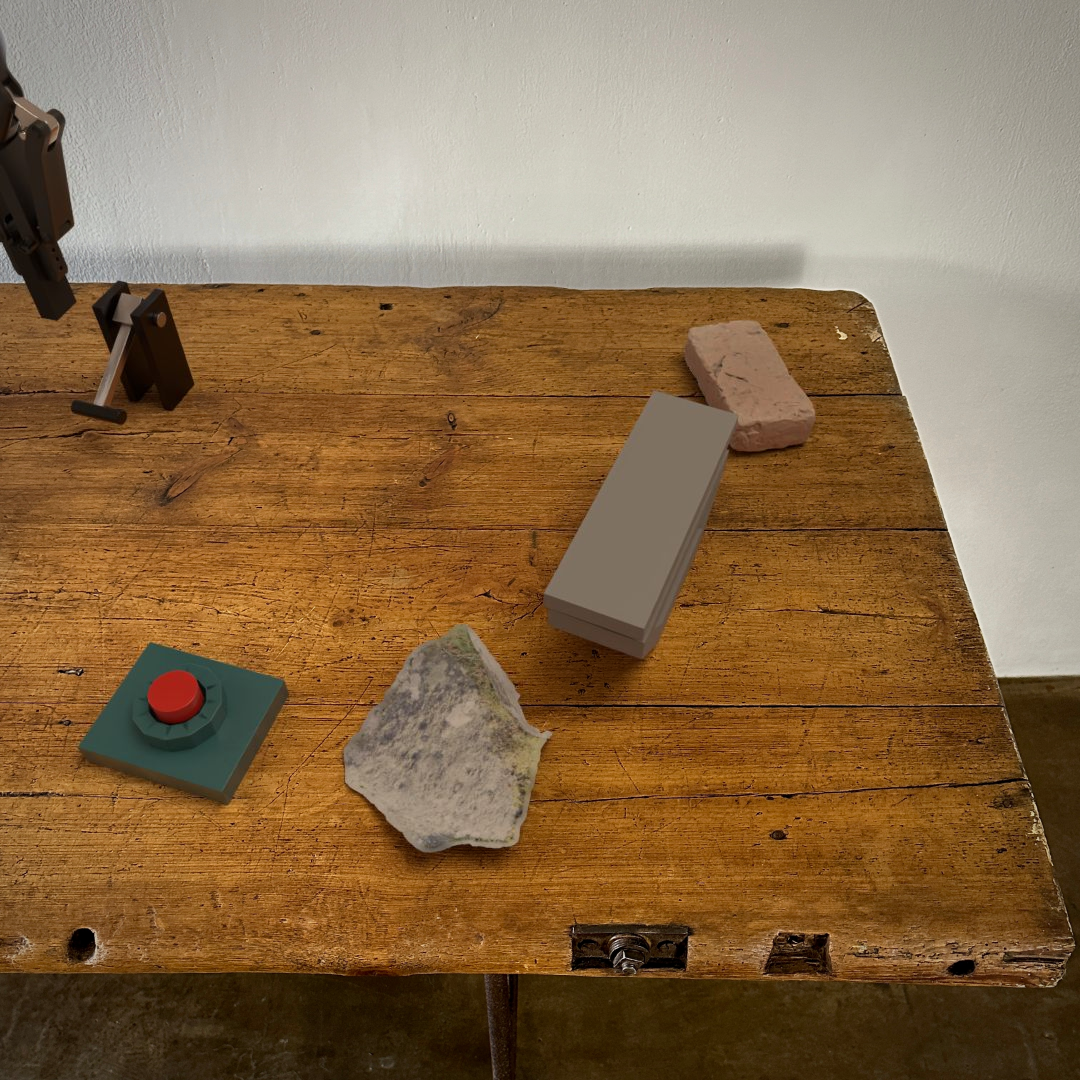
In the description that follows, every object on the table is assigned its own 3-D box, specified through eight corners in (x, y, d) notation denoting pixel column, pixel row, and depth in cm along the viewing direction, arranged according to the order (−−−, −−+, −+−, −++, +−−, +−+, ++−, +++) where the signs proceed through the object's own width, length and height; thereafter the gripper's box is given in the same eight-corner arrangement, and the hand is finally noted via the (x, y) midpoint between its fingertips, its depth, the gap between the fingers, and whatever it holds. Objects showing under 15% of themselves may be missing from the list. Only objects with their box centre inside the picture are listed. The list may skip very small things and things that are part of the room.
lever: (127, 428, 91) (112, 420, 89) (80, 417, 92) (65, 409, 90) (168, 310, 93) (155, 299, 91) (122, 300, 94) (108, 289, 92)
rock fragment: (463, 648, 82) (461, 609, 78) (605, 772, 74) (610, 735, 70) (320, 758, 74) (309, 721, 71) (460, 907, 67) (457, 875, 63)
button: (144, 716, 72) (137, 704, 71) (170, 677, 75) (164, 664, 73) (187, 729, 72) (181, 717, 70) (212, 689, 74) (206, 677, 73)
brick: (679, 356, 107) (684, 321, 103) (750, 346, 108) (758, 311, 105) (732, 461, 97) (740, 426, 93) (810, 448, 98) (821, 413, 94)
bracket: (173, 449, 96) (135, 345, 86) (93, 430, 98) (47, 326, 88) (232, 374, 104) (203, 271, 94) (158, 357, 105) (121, 254, 95)
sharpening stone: (641, 475, 95) (653, 390, 87) (718, 499, 93) (738, 414, 85) (540, 673, 80) (543, 593, 72) (630, 707, 78) (644, 628, 70)
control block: (86, 761, 74) (68, 735, 71) (157, 656, 80) (143, 628, 77) (228, 805, 72) (216, 780, 69) (289, 694, 78) (280, 667, 75)
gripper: (48, -16, 62) (155, 296, 80) (-125, -39, 64) (17, 270, 82) (-27, 31, 57) (105, 352, 75) (-212, 5, 59) (-41, 322, 77)
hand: (59, 309), depth 78 cm, fingers closed
